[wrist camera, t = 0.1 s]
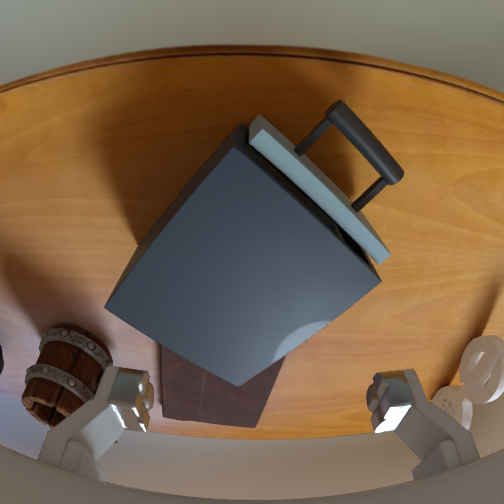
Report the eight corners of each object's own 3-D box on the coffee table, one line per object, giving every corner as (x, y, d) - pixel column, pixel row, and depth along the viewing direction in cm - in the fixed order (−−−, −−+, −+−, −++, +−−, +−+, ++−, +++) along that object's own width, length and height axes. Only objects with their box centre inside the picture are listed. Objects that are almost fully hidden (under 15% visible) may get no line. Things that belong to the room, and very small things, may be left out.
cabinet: (239, 123, 25) (233, 145, 17) (348, 222, 30) (382, 281, 22) (137, 246, 31) (103, 308, 23) (240, 317, 36) (238, 387, 27)
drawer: (300, 72, 22) (320, 69, 15) (397, 175, 26) (439, 210, 20) (154, 235, 30) (129, 284, 23) (253, 305, 34) (254, 362, 27)
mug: (29, 313, 36) (-5, 400, 23) (123, 318, 39) (110, 418, 26) (52, 367, 42) (33, 447, 29) (135, 373, 45) (130, 460, 32)
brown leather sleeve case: (289, 339, 37) (290, 351, 36) (256, 420, 47) (256, 430, 46) (162, 320, 36) (158, 332, 34) (163, 407, 46) (161, 417, 44)
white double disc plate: (433, 407, 49) (448, 450, 40) (423, 409, 48) (439, 452, 40) (489, 321, 37) (520, 368, 29) (480, 322, 37) (511, 371, 29)
